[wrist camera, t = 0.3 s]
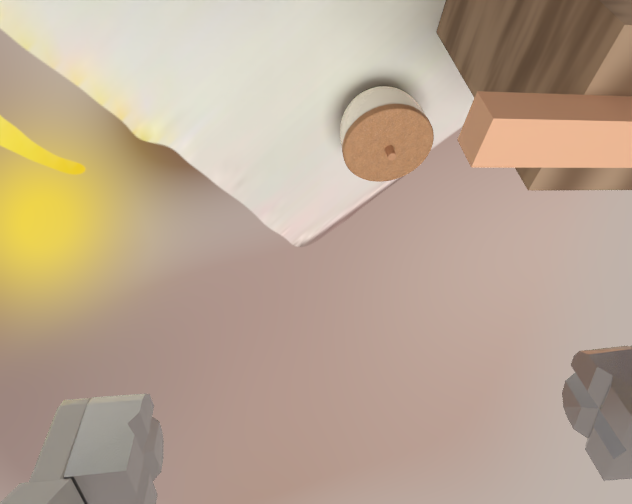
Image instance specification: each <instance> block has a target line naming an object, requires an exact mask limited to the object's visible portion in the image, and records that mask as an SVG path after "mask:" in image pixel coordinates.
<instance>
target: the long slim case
mask: <svg viewBox="0 0 632 504" xmlns="http://www.w3.org/2000/svg"><path fill="white" fill-rule="evenodd" d="M458 142H459V144H460V146H461V148H462V150H463V152H464V154H465V156H466V158H467V160H468V162H469V164H470V166H471V167H499V168H500V167H504V168H507V167H508V168H510V167H511V168H512V167H513V168H514V167H515V168H632V96H606V95H575V94H545V93H515V92H484V91H477V93H476V96H475V98H474V101H473V103H472V105H471V108H470V110H469V113H468V115H467V118H466V120H465V123H464V125H463V128H462V130H461V133H460V135H459V137H458Z"/></svg>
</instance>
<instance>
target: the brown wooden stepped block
mask: <svg viewBox="0 0 632 504" xmlns="http://www.w3.org/2000/svg"><path fill="white" fill-rule="evenodd" d="M437 34H438V36H439V38H440V39H441V41H442V43H443V44H444V46H445V48H446V50H447V51H448V53H449V55H450V57H451V58H452V60H453V62H454V63H455V65H456V67H457V69H458V70H459V72H460V74H461V75H462V77H463V79H464V81H465V82H466V84H467V86H468V88H469V89H470V91H471V93H472V94H473V96H474V98H475V96H476V93H477V91H484V92H515V93H545V94H575V95H606V96H632V0H446V3H445V6H444V9H443V13H442V16H441V19H440V22H439V26H438V29H437ZM515 169H516V170H517V172H518V174H519V175H520V177H521V179H522V180H523V182H524V184H525V186H526V187H527V189H528V190H632V168H515Z"/></svg>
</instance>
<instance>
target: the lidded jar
mask: <svg viewBox="0 0 632 504" xmlns="http://www.w3.org/2000/svg"><path fill="white" fill-rule="evenodd" d="M340 139H341V145H342V152H343V157H344V161H345V163H346V165H347V167H348V168H349V170H350V171H351V172H352V173H353V174H355V175H357V176H358V177H360V178H363V179H366V180H369V181H389V180H393V179H397V178H399V177H402V176H404V175H406V174H408V173H410V172H411V171H413V170H414V169H415V168H417V167H418V166H419V165H420V164H421V163H422V162H423V161H424V159H425V158H426V157H427V156H428V154H429V152H430V150H431V147H432V144H433V139H434V138H433V129H432V126H431V124H430V122H429V120H428V118H427V117H426V116H425V114H424V112H423V110H422V108H421V107H420V106H419V104H418V103H417V102H416V101H415V100H414V99H413V98H412V97H411V96H410V95H409V94H407V93H406V92H404V91H402V90H400V89H397V88H394V87H388V86H380V87H374V88H371V89H368V90H366V91H364V92H362V93H360V94H359V95H358V96H356V97H355V98H354V99H353V100H352V101H351V103H350V104H349V105H348V106H347V108H346V110H345V112H344V114H343V117H342V120H341V126H340Z"/></svg>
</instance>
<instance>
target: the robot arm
mask: <svg viewBox="0 0 632 504" xmlns="http://www.w3.org/2000/svg"><path fill="white" fill-rule="evenodd" d="M571 366H572V367H573V369H574V371H575V373H574V374H573V375H572V376H571V377H570V378H568V379H567V380H566V381H565V384H564V388H563V392H562V397H563V407H564V410H565V412H566V415H567V418H568V420H569V422H570V423H571V425H572V427H573V429H575V430H576V431H578V432H579V433H581V434H582V435H584V436H585V437H587V442H586V448H585V450H586V451H587V453H588V455H589V456H590V458H591V460H592V461H593V463H594V465H595V466H596V468H597V470H598V471H599V473H600V475H601V476H602V479H603V480H617V479H630V478H632V346H621V347H612V348H603V349H595V350H594V349H593V350H584V351H579V352H578V353H577V354H576V355H574V358H573V360H572V363H571ZM153 408H154V405H153V402H152V400H151V397H150V394H136V395H122V396H107V397H95V398H94V397H93V398H84V399H72V400H64V401H63V402H62V403H61V405H60V406H59V407H58V409H57V411H56V414H55V416H54V419H53V421H52V424H51V427H50V429H49V432H48V434H47V437H46V439H45V442H44V445H43V447H42V450H41V452H40V455H39V458H38V460H37V463H36V465H35V468H34V471H33V473H32V476H31V478H30V481H29V482H27V483H20V484H19V485H18V486H17V487H16V488H15V489H14V490H13V491H12V492H11V493H10V494H9V495H8V496H7V497H5V498H4V499H3V500H2V501H1V502H0V504H156V500H157V492H156V489H155V487H154V484H153V481H154V479H155V478H156V477H157V476H158V475H159V474H160V472H161V469H162V462H163V434H162V429H161V426H160V422H159V421H158V420H156V419H155V418H153V417H152V413H153Z"/></svg>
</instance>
